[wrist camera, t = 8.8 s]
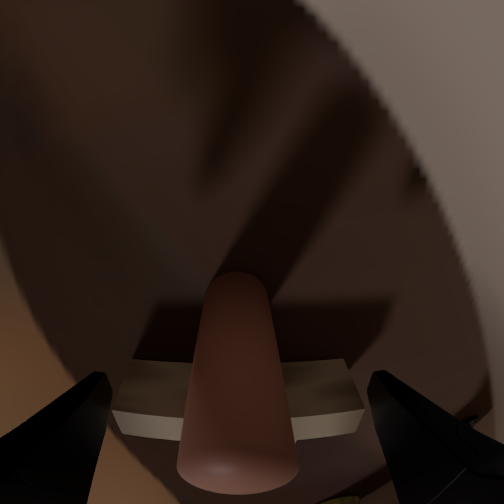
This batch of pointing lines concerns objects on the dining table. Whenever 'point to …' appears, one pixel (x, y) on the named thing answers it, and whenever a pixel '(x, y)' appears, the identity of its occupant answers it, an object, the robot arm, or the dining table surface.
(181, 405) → the backstop
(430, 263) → the dining table surface
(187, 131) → the dining table surface
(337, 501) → the olive ribbed cylinder
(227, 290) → the peg
